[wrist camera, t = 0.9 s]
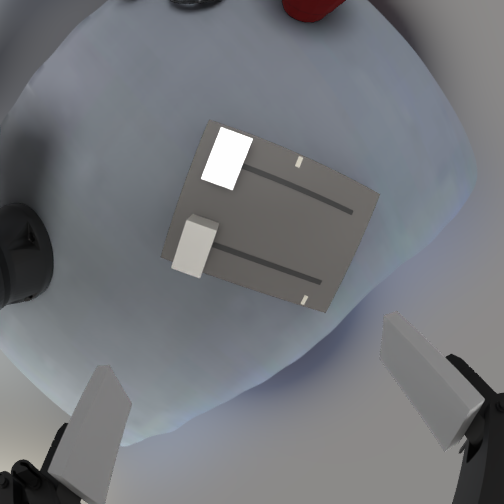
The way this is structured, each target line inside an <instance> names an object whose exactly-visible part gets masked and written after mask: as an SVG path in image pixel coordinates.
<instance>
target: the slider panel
mask: <svg viewBox="0 0 504 504" xmlns="http://www.w3.org/2000/svg"><path fill="white" fill-rule="evenodd" d="M221 128H224V129H227V130H230V131H233V132H235V133H238V134H241V135H244V136H246V137H249V138H252V139H253V140H252V142H251V144H250V147H249V149H248V152H247V154H246V157H245V159H244V162H243V164H242V167H241V169H240V172H239V174H238V177H237V179H236V182H235V185H234V187H233V190H231V189H228V188H226V187H223V186H220V185H217V184H215V183H212V182H209V181H206V180H203V179H201V178H202V175H203V172H204V170H205V167H206V165H207V162H208V159H209V157H210V154H211V152H212V149H213V147H214V144H215V142H216V139H217V137H218V134H219V132H220V130H221ZM379 196H380V194H379V193H377V192H375V191H373V190H371V189H369V188H368V187H366V186H364V185H362V184H360V183H358V182H356V181H354V180H352V179H350V178H348V177H347V176H345V175H343V174H341V173H339V172H337V171H334V170H332V169H330V168H328V167H326V166H324V165H322V164H320V163H318V162H316V161H313V160H311V159H309V158H307V157H305V156H302V155H300V154H298V153H295V152H293V151H291V150H289V149H286V148H284V147H281V146H279V145H277V144H274V143H272V142H269V141H267V140H264V139H262V138H259V137H257V136H254V135H251V134H249V133H246V132H243V131H241V130H238V129H235V128H232V127H229V126H226V125H224V124H221V123H218V122H215V121H212V120H209V121H208V124H207V126H206V128H205V131H204V133H203V136H202V138H201V141H200V143H199V146H198V148H197V151H196V153H195V156H194V158H193V161H192V164H191V166H190V169H189V172H188V174H187V177H186V180H185V183H184V186H183V188H182V191H181V194H180V197H179V200H178V203H177V206H176V209H175V212H174V215H173V218H172V221H171V224H170V227H169V231H168V234H167V237H166V240H165V244H164V247H163V250H162V254H161V258H164V259H166V260H169V261H172V262H173V260H174V257H175V254H176V251H177V247H178V244H179V241H180V238H181V235H182V232H183V229H184V226H185V223H186V220H187V219H188V218H189V217H190V216H191V215H192V214H195V215H198V216H201V217H204V218H206V219H209V220H212V221H215V222H217V223H219V226H218V229H217V232H216V235H215V238H214V240H213V243H212V246H211V249H210V252H209V254H208V257H207V260H206V263H205V266H204V268H203V271H202V273H205V274H208V275H211V276H214V277H217V278H220V279H222V280H225V281H228V282H231V283H234V284H237V285H240V286H243V287H246V288H249V289H252V290H255V291H258V292H261V293H264V294H267V295H270V296H273V297H276V298H279V299H282V300H286V301H289V302H292V303H295V304H298V305H301V306H305V307H308V308H311V309H314V310H318V311H321V312H324V313H326V311H327V309H328V308H329V306H330V304H331V302H332V300H333V298H334V296H335V294H336V292H337V290H338V288H339V286H340V284H341V282H342V280H343V278H344V276H345V274H346V272H347V270H348V267H349V265H350V263H351V261H352V259H353V257H354V255H355V252H356V250H357V248H358V246H359V244H360V241H361V239H362V237H363V235H364V232H365V230H366V228H367V225H368V223H369V221H370V218H371V216H372V213H373V211H374V208H375V206H376V203H377V201H378V198H379Z"/></svg>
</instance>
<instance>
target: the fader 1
mask: <svg viewBox="0 0 504 504" xmlns="http://www.w3.org/2000/svg"><path fill="white" fill-rule="evenodd" d="M218 226H219V223H217V222H215V221H212V220H209V219H206V218H204V217H201V216H198V215H195V214H192V215H191V216H190V217H189V218H188V219H187V220H186V223H185V226H184V229H183V232H182V235H181V238H180V241H179V244H178V247H177V251H176V254H175V257H174V260H173V264H172V267H171V268H172V269H175V270H177V271H180V272H183V273H186V274H189V275H191V276H194V277H197V278H200V277H201V274H202V271H203V268H204V266H205V263H206V260H207V257H208V254H209V252H210V249H211V246H212V243H213V240H214V238H215V235H216V232H217V229H218Z"/></svg>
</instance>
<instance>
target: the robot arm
mask: <svg viewBox="0 0 504 504" xmlns="http://www.w3.org/2000/svg"><path fill="white" fill-rule="evenodd" d="M52 271H53V254H52V248H51V244H50V240H49V237H48V234H47V231H46V229H45V227H44V225H43V223H42V221H41V220H40V218H39V217H38V216H37V214H36V213H35V212H34V211H33V210H32V209H31V208H29V207H28V206H26V205H24V204H21V203H13V204H9V205H5V206H3V207H1V208H0V309H2V308H3V307H4V306H6V305H9V304H14V303H20V302H24V301H30V300H32V299H34V298H36V297H37V296H38V295H40V294H41V293H42V292H44V291H45V289H46V288H47V287H48V285H49V283H50V280H51V277H52ZM380 360H381V362H382V363H383V365H384V366H385V367H386V369H387V370H388V371H389V373H390V374H391V375H392V377H393V378H394V380H395V381H396V382H397V384H398V385H399V386H400V388H401V389H402V391H403V392H404V393H405V395H406V396H407V398H408V399H409V400H410V402H411V403H412V405H413V406H414V408H415V409H416V411H417V412H418V413H419V415H420V416H421V418H422V419H423V421H424V422H425V423H426V425H427V427H428V428H429V429H430V431H431V432H432V434H433V435H434V437H435V438H436V440H437V441H438V443H439V444H440V446H441V447H442V449H443V450H444V452H445V451H446V450H448V449H450V448H452V447H453V446H455V445H456V444H458V443H459V442H460V440H461V439H462V437H463V436H464V435H465V436H466V437H467V440H466V442H465V443H464V445H463V446H462V447H461V449H460V451H459V453H462V451H463V450H464V449H465V450H464V456H463V462H462V467H461V471H460V476H459V480H458V484H457V488H456V492H455V495H454V499H453V502H452V504H504V393H499V394H497V393H496V392H494V391H493V390H492V389H491V388H490V387H489V385H488V384H486V382H485V381H484V380H483V379H482V378H481V377H479V375H478V374H477V373H475V372H474V370H473V369H472V368H471V367H469V366H468V364H466V362H465V361H463V360H462V359H461V358H459V357H457V356H455V355H453V354H450V355H448V356H446V357H444V356H443V355H442V354H441V353H440V352H439V351H438V350H437V349H436V348H435V347H434V346H433V345H432V344H431V343H430V342H429V341H428V340H427V339H426V338H425V337H424V336H423V335H422V334H421V333H420V332H419V331H418V330H417V329H416V328H415V327H413V326H412V325H411V324H410V323H409V322H408V321H407V320H406V319H405V318H404V317H403V316H402V315H401V314H400V313H398V311H395V312H392V313H390V314H386V315H384V318H383V331H382V342H381V351H380ZM131 406H132V403H131V401H130V399H129V398H128V396H127V395H126V393H125V391H124V390H123V388H122V386H121V384H120V383H119V381H118V379H117V377H116V376H115V374H114V372H113V370H112V368H111V367H110V365H106V366H97V368H96V369H95V371H94V373H93V375H92V377H91V379H90V381H89V383H88V385H87V386H86V388H85V390H84V392H83V394H82V396H81V398H80V400H79V402H78V404H77V406H76V408H75V410H74V412H73V415H72V417H71V419H70V421H69V423H64V424H63V426H62V427H61V428H60V429H59V430H58V432H57V434H56V436H55V438H54V439H55V440H53V442H52V445H51V446H52V447H50V449H49V451H48V454H47V456H46V458H45V461H44V463H43V465H42V468H41V470H40V471H39V470H38V469H36V468H35V467H34V466H33V465H32V464H31V463H30V462H29V461H27V460H24V459H23V460H19V461H17V462H16V463H15V464H14V465H13V467H12V470H11V474H10V473H9V472H6V471H3V472H0V504H81V503H80V501H81V499H83V500H84V501H85V502H87V503H88V504H105V501H106V496H107V492H108V488H109V484H110V480H111V476H112V472H113V468H114V464H115V461H116V457H117V453H118V449H119V446H120V442H121V439H122V435H123V432H124V429H125V425H126V422H127V419H128V415H129V412H130V409H131Z"/></svg>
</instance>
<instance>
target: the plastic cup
mask: <svg viewBox="0 0 504 504" xmlns="http://www.w3.org/2000/svg"><path fill="white" fill-rule="evenodd" d="M344 1H345V0H282V3H283V6H284V10H285V11H286V12H287V13H288V15H289V16H291V17H293V18H294V19H296V20H299V21H302V22H315V21H319V20H321V19H322V18H323V17H325V16H326V15H327V14H328V13H330V12H332V11H333V10H334V9H335V8H337V7H338V6H339V5H340V4H342V3H343V2H344Z"/></svg>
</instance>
